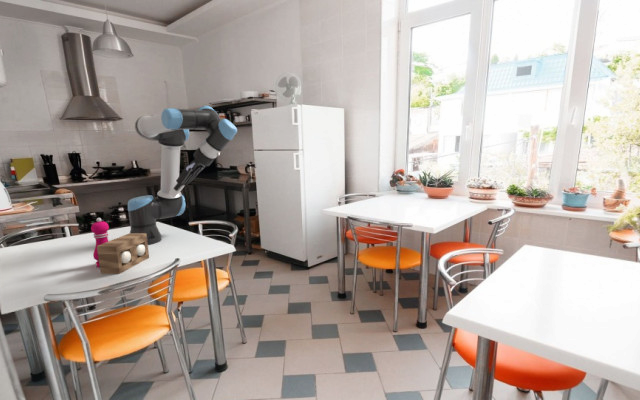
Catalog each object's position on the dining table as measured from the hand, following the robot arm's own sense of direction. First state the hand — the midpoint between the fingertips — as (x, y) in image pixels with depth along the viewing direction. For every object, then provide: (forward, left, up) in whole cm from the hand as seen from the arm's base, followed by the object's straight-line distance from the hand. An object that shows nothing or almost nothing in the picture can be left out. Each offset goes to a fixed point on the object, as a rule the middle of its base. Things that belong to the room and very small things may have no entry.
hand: (172, 194), depth 134 cm
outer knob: (+6, -21, -25) cm, 34 cm away
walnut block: (+2, -20, -28) cm, 35 cm away
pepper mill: (0, -29, -28) cm, 41 cm away
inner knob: (-2, -19, -25) cm, 32 cm away
